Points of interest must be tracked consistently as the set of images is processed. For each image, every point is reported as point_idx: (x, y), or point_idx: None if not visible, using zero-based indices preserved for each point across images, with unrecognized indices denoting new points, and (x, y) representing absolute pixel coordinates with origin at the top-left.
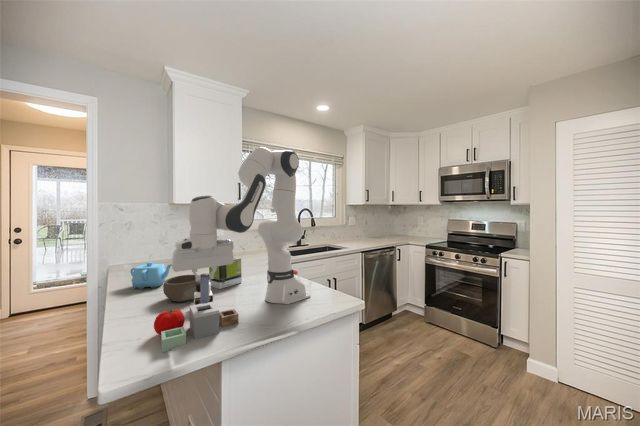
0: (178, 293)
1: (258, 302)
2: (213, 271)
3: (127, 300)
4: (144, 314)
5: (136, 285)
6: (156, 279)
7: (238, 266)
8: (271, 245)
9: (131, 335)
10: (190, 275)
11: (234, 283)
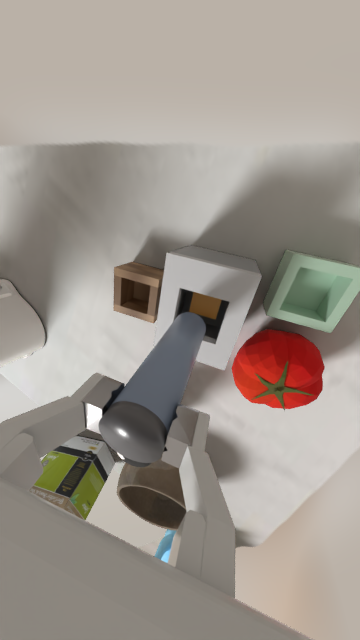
0: None
1: (60, 338)
2: (47, 417)
3: (248, 519)
4: (257, 460)
5: None
6: None
7: None
8: None
9: (334, 406)
10: (135, 510)
11: (76, 438)
